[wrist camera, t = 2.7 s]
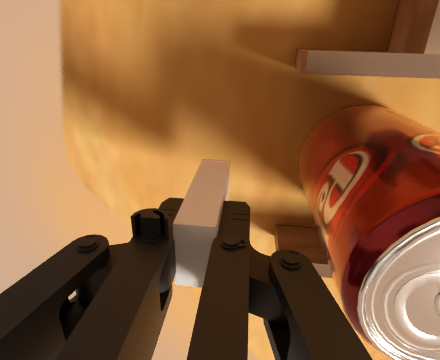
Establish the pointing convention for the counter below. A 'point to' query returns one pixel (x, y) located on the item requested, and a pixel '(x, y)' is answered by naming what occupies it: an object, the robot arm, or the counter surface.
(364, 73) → the trap box
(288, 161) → the counter surface
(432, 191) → the soda can
